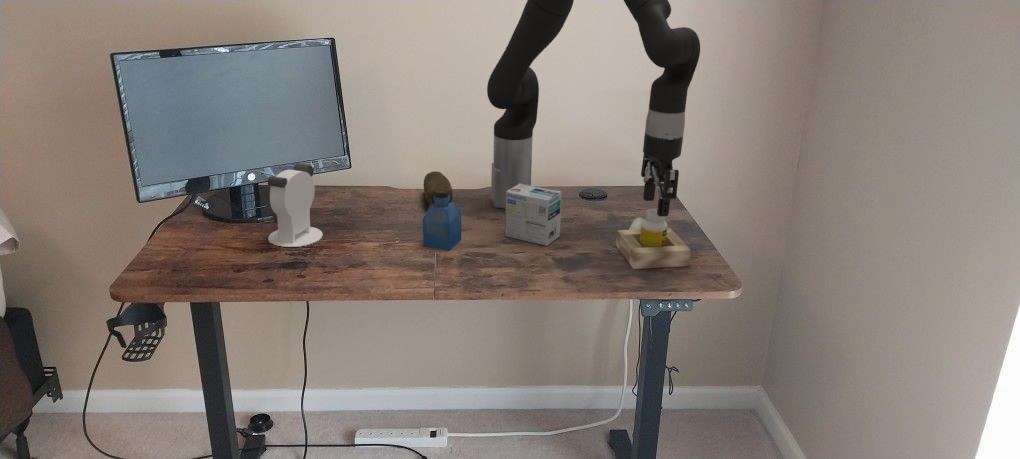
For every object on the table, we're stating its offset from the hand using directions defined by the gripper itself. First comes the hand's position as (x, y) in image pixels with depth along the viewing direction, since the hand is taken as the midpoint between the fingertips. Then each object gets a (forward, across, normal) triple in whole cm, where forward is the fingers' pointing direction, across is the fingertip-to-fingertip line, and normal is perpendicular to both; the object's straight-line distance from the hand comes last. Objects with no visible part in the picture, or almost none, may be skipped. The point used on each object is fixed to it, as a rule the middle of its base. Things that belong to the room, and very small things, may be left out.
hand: (655, 207), depth 160 cm
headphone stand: (+12, -19, -74) cm, 77 cm away
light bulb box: (+11, -13, -23) cm, 28 cm away
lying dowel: (+10, -11, +2) cm, 15 cm away
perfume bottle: (+12, -12, -43) cm, 46 cm away
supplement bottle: (+11, 0, 0) cm, 11 cm away
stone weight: (+12, -37, -42) cm, 57 cm away
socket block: (+11, 0, 0) cm, 11 cm away
